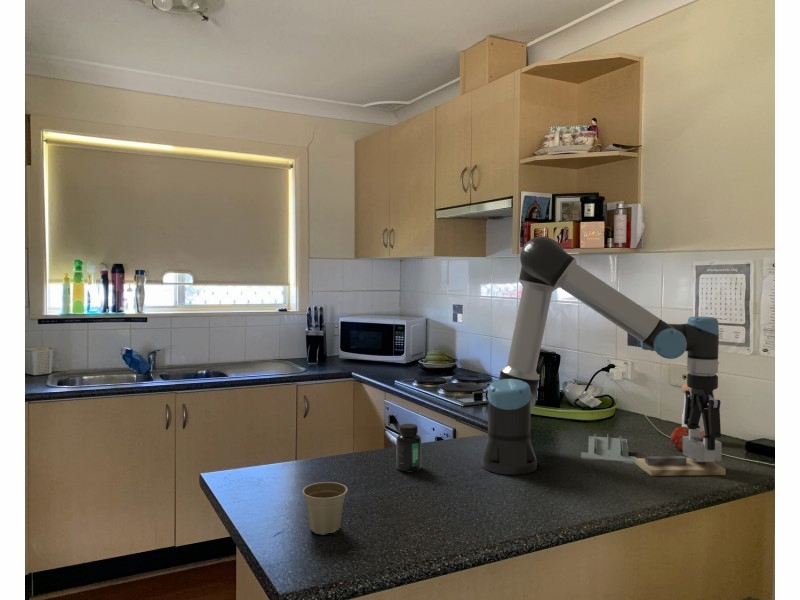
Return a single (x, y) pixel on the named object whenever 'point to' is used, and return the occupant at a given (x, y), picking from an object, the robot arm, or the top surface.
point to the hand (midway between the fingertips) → (701, 456)
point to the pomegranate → (679, 437)
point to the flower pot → (325, 505)
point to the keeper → (678, 465)
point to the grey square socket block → (699, 449)
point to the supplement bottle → (408, 448)
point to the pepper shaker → (702, 430)
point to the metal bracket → (608, 449)
